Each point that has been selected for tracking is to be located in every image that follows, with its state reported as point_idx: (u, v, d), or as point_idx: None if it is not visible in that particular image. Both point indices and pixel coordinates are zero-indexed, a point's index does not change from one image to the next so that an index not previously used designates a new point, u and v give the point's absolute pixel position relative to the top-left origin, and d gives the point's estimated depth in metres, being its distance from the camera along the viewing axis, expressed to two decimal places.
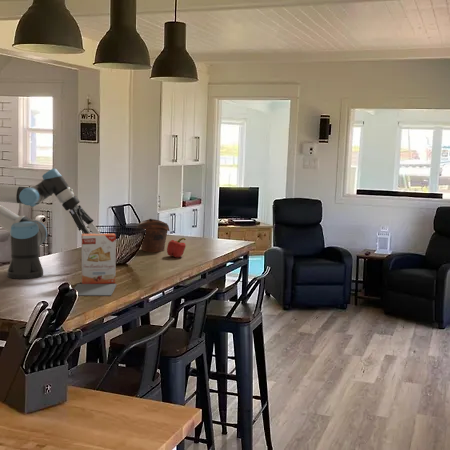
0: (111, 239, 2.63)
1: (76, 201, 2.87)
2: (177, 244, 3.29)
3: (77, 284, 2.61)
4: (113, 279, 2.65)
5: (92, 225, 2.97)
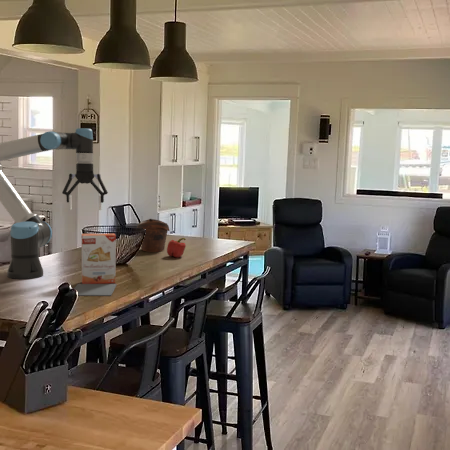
0: (111, 239, 2.63)
1: (79, 169, 2.81)
2: (177, 244, 3.29)
3: (77, 284, 2.61)
4: (113, 279, 2.65)
5: (99, 198, 2.86)
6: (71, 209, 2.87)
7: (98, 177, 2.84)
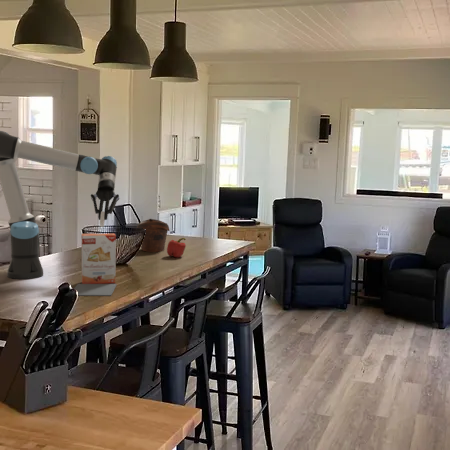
0: (111, 239, 2.63)
1: (100, 184, 2.85)
2: (177, 244, 3.29)
3: (77, 284, 2.61)
4: (113, 279, 2.65)
5: None
6: (102, 225, 2.76)
7: (115, 196, 2.84)
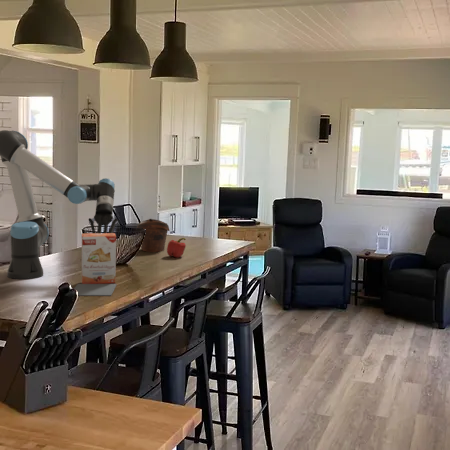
0: (111, 240, 2.61)
1: (98, 208, 2.78)
2: (177, 244, 3.29)
3: (77, 284, 2.61)
4: (113, 279, 2.65)
5: None
6: None
7: (114, 220, 2.76)
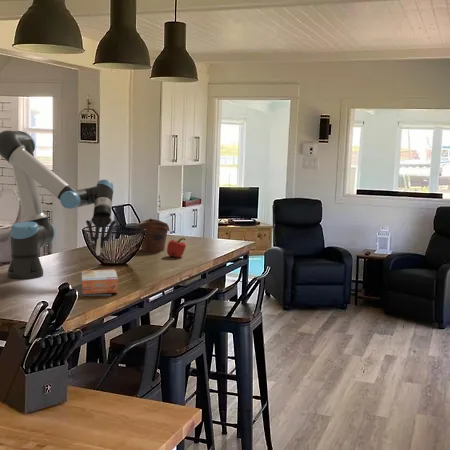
0: None
1: (96, 210, 2.72)
2: (177, 244, 3.29)
3: (77, 284, 2.61)
4: None
5: None
6: (98, 254, 2.62)
7: (112, 223, 2.71)
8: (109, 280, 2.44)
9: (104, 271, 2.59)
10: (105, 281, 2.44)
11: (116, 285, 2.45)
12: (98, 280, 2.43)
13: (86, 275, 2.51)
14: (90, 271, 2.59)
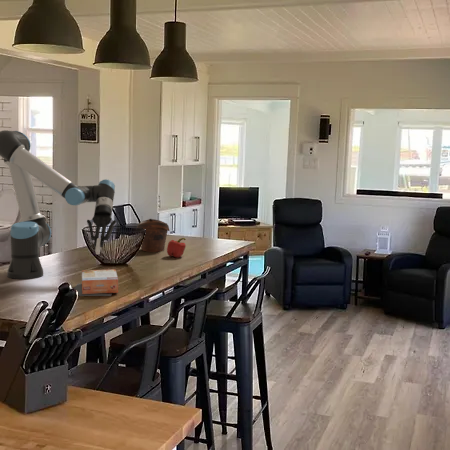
0: None
1: (97, 209, 2.76)
2: (177, 244, 3.29)
3: (77, 284, 2.61)
4: None
5: None
6: (97, 253, 2.66)
7: (112, 222, 2.74)
8: (109, 280, 2.44)
9: (104, 271, 2.59)
10: (105, 281, 2.44)
11: (116, 285, 2.45)
12: (98, 280, 2.43)
13: (86, 275, 2.51)
14: (90, 271, 2.59)
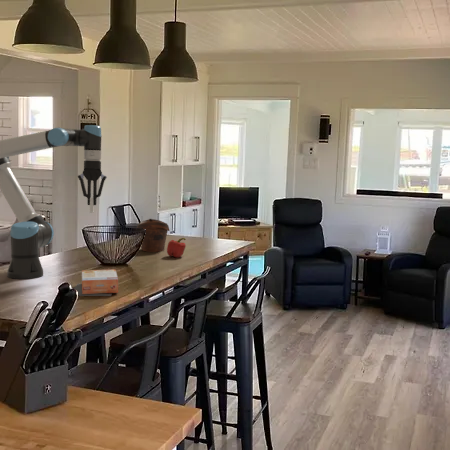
0: None
1: (86, 166, 2.79)
2: (177, 244, 3.29)
3: (77, 284, 2.61)
4: None
5: None
6: None
7: (103, 179, 2.82)
8: (109, 280, 2.44)
9: (104, 271, 2.59)
10: (105, 281, 2.44)
11: (116, 285, 2.45)
12: (98, 280, 2.43)
13: (86, 275, 2.51)
14: (90, 271, 2.59)
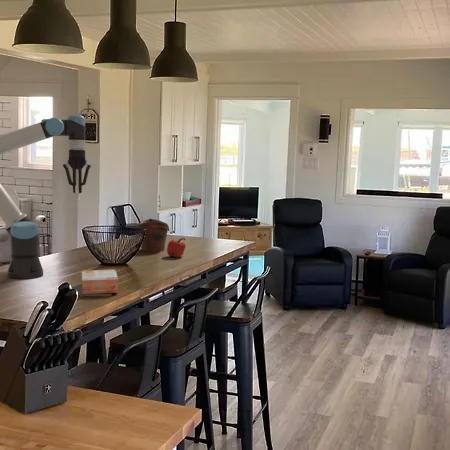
0: None
1: (71, 155, 2.88)
2: (177, 244, 3.29)
3: (77, 284, 2.61)
4: None
5: None
6: None
7: (87, 167, 2.91)
8: (109, 280, 2.44)
9: (104, 271, 2.59)
10: (105, 281, 2.44)
11: (116, 285, 2.45)
12: (98, 280, 2.43)
13: (86, 275, 2.51)
14: (90, 271, 2.59)
